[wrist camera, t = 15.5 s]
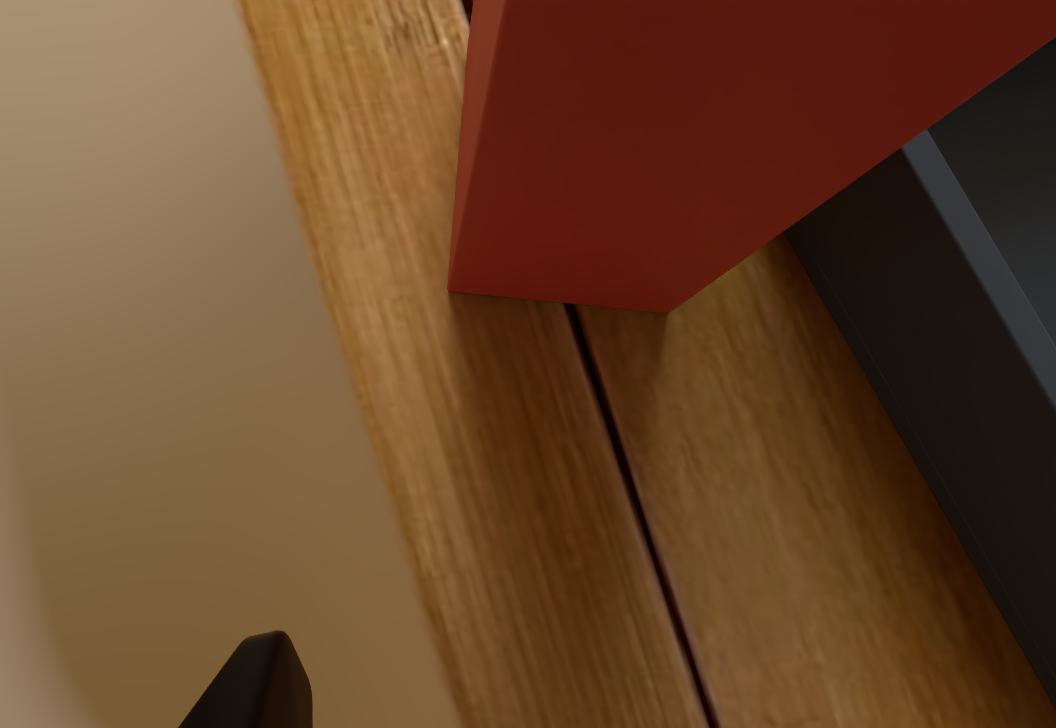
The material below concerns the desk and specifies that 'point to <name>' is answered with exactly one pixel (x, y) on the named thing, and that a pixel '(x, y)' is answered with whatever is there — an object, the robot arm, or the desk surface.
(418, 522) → the desk surface
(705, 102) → the package
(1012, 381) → the dark gray tray
